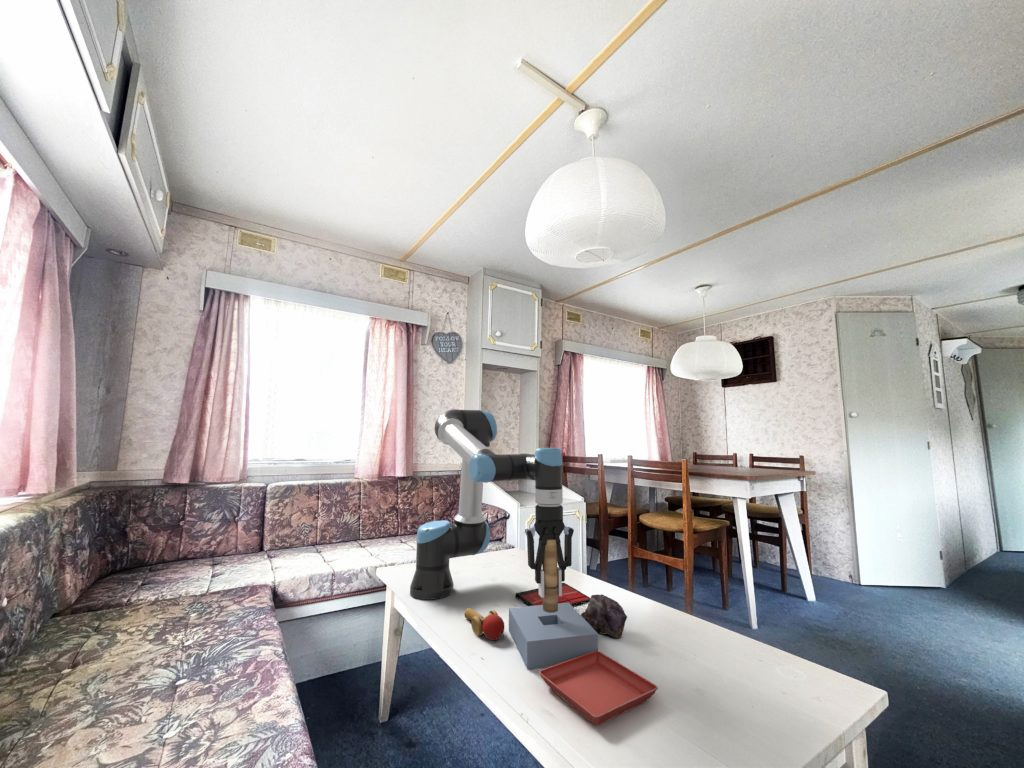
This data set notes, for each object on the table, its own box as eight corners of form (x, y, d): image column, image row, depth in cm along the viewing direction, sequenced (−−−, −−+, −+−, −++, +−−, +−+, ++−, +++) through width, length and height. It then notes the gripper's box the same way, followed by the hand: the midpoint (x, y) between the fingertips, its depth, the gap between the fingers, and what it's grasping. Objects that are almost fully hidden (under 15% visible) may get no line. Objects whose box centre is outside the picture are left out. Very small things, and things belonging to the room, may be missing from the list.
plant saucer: (597, 663, 98) (597, 648, 99) (660, 703, 83) (659, 686, 84) (537, 687, 88) (537, 670, 89) (596, 738, 73) (595, 717, 74)
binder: (515, 592, 138) (563, 581, 149) (515, 599, 138) (563, 588, 149) (543, 611, 125) (593, 597, 136) (543, 619, 124) (593, 605, 135)
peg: (540, 607, 109) (539, 537, 112) (555, 605, 110) (554, 536, 113) (545, 613, 105) (544, 540, 108) (560, 612, 106) (559, 540, 109)
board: (508, 630, 114) (508, 607, 115) (569, 624, 118) (568, 602, 119) (527, 669, 95) (527, 641, 96) (598, 660, 99) (598, 633, 100)
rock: (613, 648, 107) (631, 634, 114) (616, 616, 107) (634, 604, 114) (576, 627, 115) (595, 615, 122) (579, 597, 115) (598, 587, 122)
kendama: (454, 627, 119) (484, 643, 105) (457, 603, 121) (487, 615, 107) (478, 626, 123) (509, 641, 109) (480, 602, 125) (511, 614, 111)
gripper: (522, 507, 106) (522, 603, 103) (583, 505, 110) (586, 597, 106) (515, 503, 113) (515, 592, 110) (573, 501, 117) (575, 587, 114)
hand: (550, 594), depth 108 cm, fingers closed on peg, 4 cm apart
